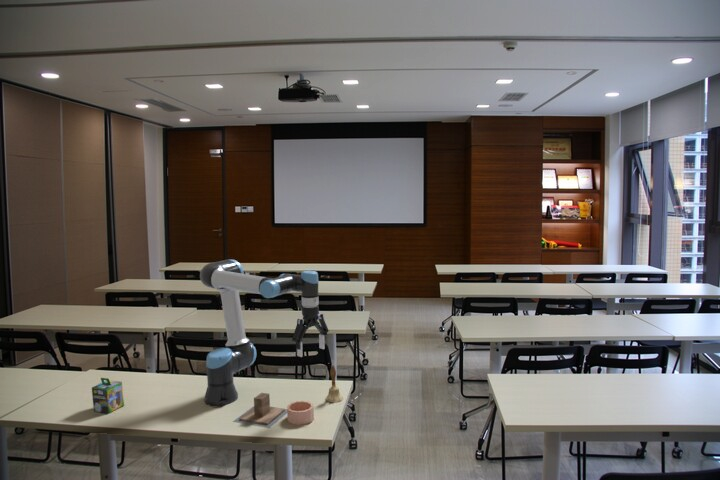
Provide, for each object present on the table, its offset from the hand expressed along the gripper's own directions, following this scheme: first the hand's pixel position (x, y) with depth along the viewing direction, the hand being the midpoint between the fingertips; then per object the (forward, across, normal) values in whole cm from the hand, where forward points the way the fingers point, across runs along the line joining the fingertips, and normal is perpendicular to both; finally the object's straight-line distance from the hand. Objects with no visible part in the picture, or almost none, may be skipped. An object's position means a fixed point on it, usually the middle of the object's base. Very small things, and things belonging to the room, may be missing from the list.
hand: (311, 352), depth 223 cm
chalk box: (+26, -60, +71) cm, 97 cm away
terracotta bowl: (+25, -13, -6) cm, 29 cm away
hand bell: (+25, +12, -3) cm, 28 cm away
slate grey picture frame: (+25, -21, +9) cm, 34 cm away
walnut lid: (+24, -21, +9) cm, 34 cm away
